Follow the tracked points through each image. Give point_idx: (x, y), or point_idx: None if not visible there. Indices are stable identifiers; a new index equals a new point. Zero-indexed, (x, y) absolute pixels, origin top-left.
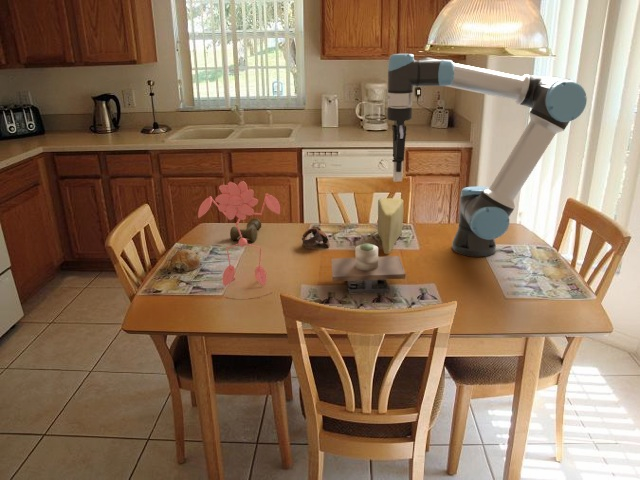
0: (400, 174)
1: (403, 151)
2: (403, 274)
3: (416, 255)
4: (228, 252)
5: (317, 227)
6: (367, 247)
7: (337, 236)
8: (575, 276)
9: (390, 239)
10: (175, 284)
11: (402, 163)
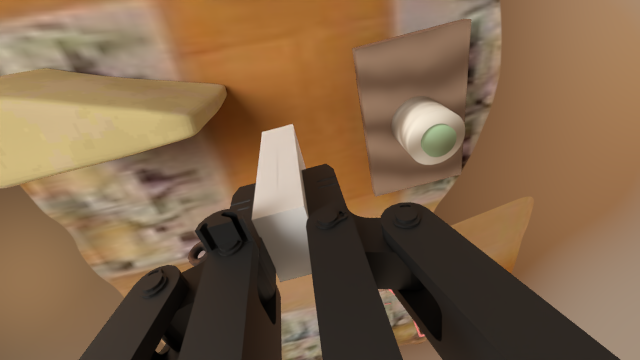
0: (299, 156)
1: (549, 315)
2: (470, 25)
3: (202, 3)
4: (417, 328)
5: (198, 263)
6: (451, 138)
7: (155, 216)
8: None
9: (202, 92)
10: (403, 326)
11: (303, 194)
